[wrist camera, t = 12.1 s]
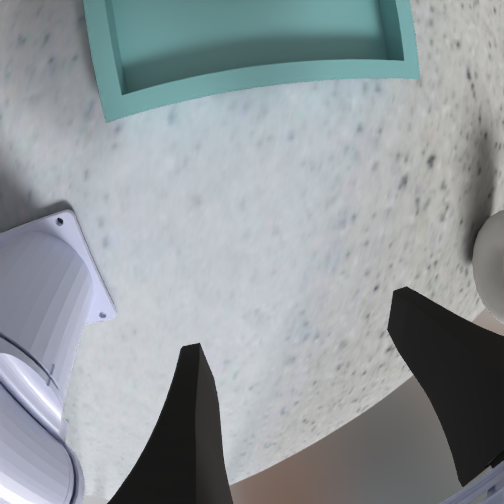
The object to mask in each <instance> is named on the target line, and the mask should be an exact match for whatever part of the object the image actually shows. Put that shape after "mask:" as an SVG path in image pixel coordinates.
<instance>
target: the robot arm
mask: <svg viewBox="0 0 504 504" xmlns="http://www.w3.org/2000/svg"><path fill="white" fill-rule="evenodd" d="M58 218H61V219H62V220H63V223H60V222H59V221H58ZM101 312H103V313H105V314H106V315H103V314H101ZM116 314H117V310H116V308H115V306H114V304H113V302H112V300H111V298H110V295H109V293H108V291H107V289H106V287H105V285H104V283H103V281H102V278H101V276H100V274H99V272H98V270H97V267H96V265H95V263H94V261H93V258H92V256H91V254H90V251H89V249H88V246H87V244H86V242H85V239H84V237H83V234H82V232H81V229H80V226H79V224H78V221H77V219H76V216H75V214H74V212H73V211H71V210H69V209H65V210H62V211H59V212H56V213H53V214H51V215H48V216H45V217H42V218H39V219H36V220H34V221H31V222H28V223H25V224H23V225H20V226H17V227H15V228H12V229H9V230H7V231H4V232H2V233H0V504H82V503H83V500H84V493H85V479H84V474H83V470H82V467H81V464H80V462H79V460H78V458H77V456H76V454H75V453H74V452H73V451H72V449H71V448H70V447H69V446H68V445H67V444H66V443H65V441H66V434H67V428H68V423H67V422H66V421H65V420H64V418H63V415H62V412H63V407H64V402H65V397H66V393H67V389H68V385H69V381H70V376H71V373H72V369H73V365H74V361H75V357H76V354H77V350H78V347H79V343H80V340H81V336H82V333H83V330H84V326H85V324H90V323H95V322H100V321H106V320H111V319H114V318H115V317H116ZM387 330H388V332H389V334H390V336H391V338H392V340H393V342H394V344H395V346H396V348H397V350H398V352H399V353H400V355H401V356H402V358H403V359H404V361H405V362H406V364H407V365H408V367H409V368H410V370H411V371H412V373H413V374H414V376H415V377H416V379H417V380H418V382H419V383H420V385H421V386H422V388H423V389H424V391H425V392H426V394H427V396H428V398H429V399H430V401H431V403H432V405H433V408H434V410H435V412H436V414H437V416H438V418H439V420H440V423H441V425H442V428H443V430H444V433H445V435H446V438H447V441H448V444H449V447H450V449H451V452H452V455H453V459H454V463H455V467H456V471H457V475H458V479H459V481H460V483H461V485H462V487H464V486H465V485H467V484H468V483H470V482H471V481H473V480H475V479H476V478H477V477H479V476H480V475H482V474H483V473H484V472H486V471H487V470H489V469H490V468H491V467H492V468H493V469H492V470H490V471H489V472H488V473H486V474H485V475H483V476H482V477H481V478H479V479H478V480H476V481H475V482H473V483H472V484H470V485H469V486H467V487H466V488H464V489H463V490H461V491H460V492H458V493H456V494H455V495H453V496H452V497H450V498H448V499H447V500H445V501H443V502H441V503H440V504H469V503H470V502H471V501H473V500H474V499H476V498H477V497H479V496H480V495H482V494H483V493H484V492H486V491H487V490H488V492H487V497H486V498H485V499H483V500H482V501H480V502H479V503H477V504H504V336H501V335H499V334H496V333H494V332H491V331H489V330H486V329H484V328H482V327H480V326H477V325H476V324H473V323H472V322H470V321H468V320H466V319H464V318H462V317H460V316H458V315H456V314H454V313H453V312H451V311H449V310H447V309H445V308H444V307H442V306H440V305H438V304H437V303H435V302H433V301H432V300H430V299H428V298H426V297H425V296H423V295H421V294H419V293H418V292H416V291H414V290H412V289H410V288H408V287H404V288H401V289H398V290H395V291H393V297H392V304H391V311H390V317H389V323H388V329H387ZM107 504H233V500H232V497H231V492H230V488H229V483H228V479H227V474H226V470H225V464H224V457H223V446H222V435H221V423H220V411H219V402H218V396H217V391H216V386H215V381H214V377H213V375H212V372H211V370H210V367H209V365H208V362H207V360H206V357H205V355H204V352H203V350H202V347H201V345H200V343H197V344H192V345H187V346H183V347H182V348H181V350H180V354H179V358H178V362H177V366H176V370H175V373H174V377H173V380H172V383H171V386H170V389H169V392H168V395H167V398H166V401H165V403H164V406H163V408H162V411H161V413H160V416H159V419H158V421H157V423H156V426H155V428H154V430H153V432H152V434H151V436H150V438H149V440H148V442H147V444H146V446H145V448H144V450H143V452H142V454H141V455H140V457H139V459H138V461H137V462H136V464H135V466H134V467H133V469H132V471H131V472H130V474H129V475H128V477H127V478H126V479H125V481H124V482H123V484H122V485H121V487H120V488H119V489H118V491H117V492H116V494H115V495H114V496H113V497H112V499H111V500H110V501H109V502H108V503H107Z"/></svg>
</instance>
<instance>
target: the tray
mask: <svg viewBox="0 0 504 504" xmlns="http://www.w3.org/2000/svg"><path fill="white" fill-rule="evenodd" d="M83 4H84V12H85V19H86V26H87V32H88V38H89V44H90V50H91V56H92V61H93V66H94V71H95V76H96V81H97V86H98V91H99V95H100V100H101V104H102V108H103V113H104V117H105V121H106V123H107V122H110V121H113V120H116V119H119V118H123V117H126V116H129V115H133V114H136V113H139V112H143V111H147V110H150V109H154V108H158V107H162V106H165V105H169V104H174V103H178V102H182V101H186V100H191V99H195V98H200V97H205V96H210V95H215V94H220V93H225V92H231V91H237V90H243V89H249V88H256V87H263V86H270V85H278V84H287V83H296V82H307V81H319V80H334V79H357V78H405V79H420V73H419V63H418V53H417V45H416V37H415V30H414V24H413V18H412V12H411V6H410V1H409V0H83Z"/></svg>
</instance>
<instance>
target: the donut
mask: <svg viewBox="0 0 504 504" xmlns="http://www.w3.org/2000/svg"><path fill="white" fill-rule="evenodd" d="M472 264H473V276H474V280H475V284H476V288H477V291H478V293H479V296H480V298H481V300H482V302H483V304H484V305H485V307H486V308H487V309H488V311H489V312H490V314H491V315H492V316H493V317H494V318H495V319H497V320H498V321H499V322H500V323H502V324H504V210H501V211H499V212H498V213H496V214H494V215H493V216H491V217H489V218H488V219H487V220H486V222H485V223H484V225H483V226H482V227H481V229H480V230H479V232H478V235H477V238H476V240H475V243H474V249H473V259H472Z"/></svg>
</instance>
